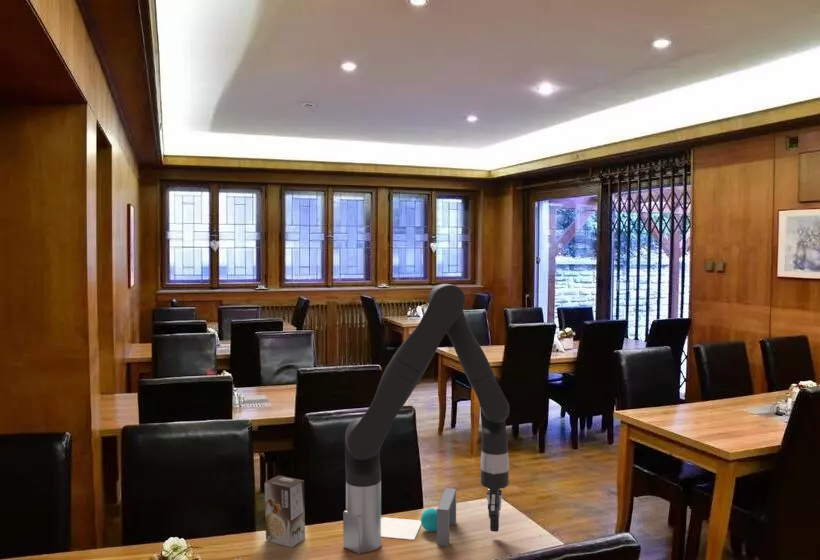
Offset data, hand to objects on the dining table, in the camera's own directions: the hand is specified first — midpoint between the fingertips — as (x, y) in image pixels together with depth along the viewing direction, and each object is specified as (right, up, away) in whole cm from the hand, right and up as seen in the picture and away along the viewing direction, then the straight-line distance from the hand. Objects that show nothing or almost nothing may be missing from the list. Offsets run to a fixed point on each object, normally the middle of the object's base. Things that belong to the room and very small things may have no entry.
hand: (494, 530), depth 168 cm
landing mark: (-26, -2, +6) cm, 27 cm away
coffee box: (-57, -3, -1) cm, 57 cm away
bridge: (-13, -2, +3) cm, 13 cm away
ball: (-17, +1, +4) cm, 17 cm away
